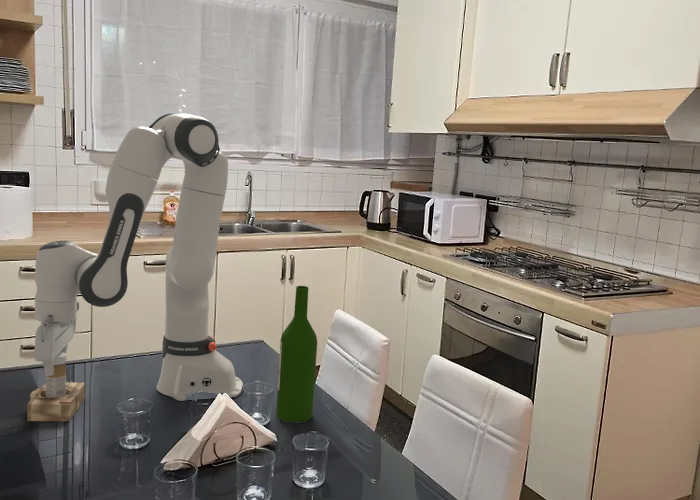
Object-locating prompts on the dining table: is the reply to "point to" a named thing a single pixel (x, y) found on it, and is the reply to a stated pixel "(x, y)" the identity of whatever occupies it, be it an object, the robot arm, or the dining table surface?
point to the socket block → (55, 404)
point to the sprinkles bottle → (57, 378)
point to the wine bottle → (297, 364)
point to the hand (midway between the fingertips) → (55, 368)
